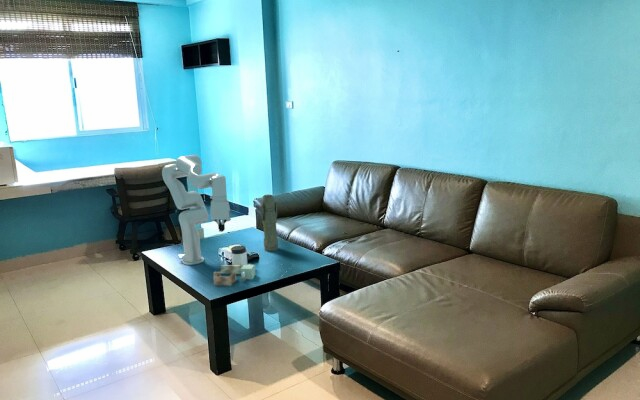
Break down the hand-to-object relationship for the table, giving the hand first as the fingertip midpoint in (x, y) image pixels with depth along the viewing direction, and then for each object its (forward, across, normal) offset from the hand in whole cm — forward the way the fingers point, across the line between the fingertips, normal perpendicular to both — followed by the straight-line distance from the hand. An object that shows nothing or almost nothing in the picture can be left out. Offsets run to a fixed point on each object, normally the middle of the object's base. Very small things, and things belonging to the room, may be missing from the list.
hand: (221, 230), depth 269 cm
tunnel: (+24, +5, -9) cm, 26 cm away
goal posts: (+24, +15, -6) cm, 29 cm away
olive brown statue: (+25, +16, +41) cm, 51 cm away
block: (+24, +16, -6) cm, 29 cm away
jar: (+25, +6, +8) cm, 27 cm away
